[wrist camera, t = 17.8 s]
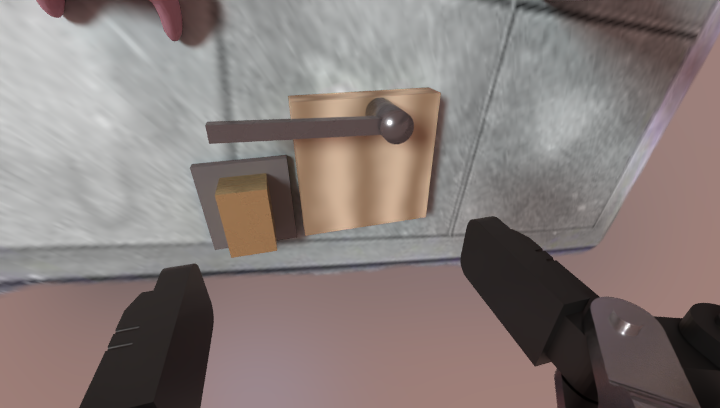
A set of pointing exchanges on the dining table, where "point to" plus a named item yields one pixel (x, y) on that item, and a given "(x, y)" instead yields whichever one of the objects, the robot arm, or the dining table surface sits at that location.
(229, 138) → the clamp lever
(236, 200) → the brown rectangular block
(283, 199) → the mat
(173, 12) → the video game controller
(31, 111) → the dining table surface
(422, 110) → the base plate
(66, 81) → the dining table surface
